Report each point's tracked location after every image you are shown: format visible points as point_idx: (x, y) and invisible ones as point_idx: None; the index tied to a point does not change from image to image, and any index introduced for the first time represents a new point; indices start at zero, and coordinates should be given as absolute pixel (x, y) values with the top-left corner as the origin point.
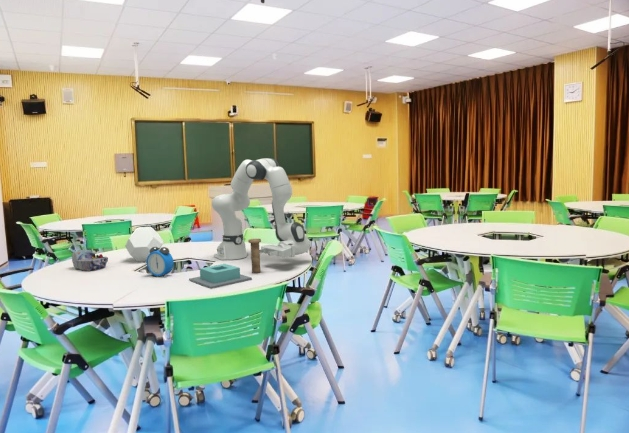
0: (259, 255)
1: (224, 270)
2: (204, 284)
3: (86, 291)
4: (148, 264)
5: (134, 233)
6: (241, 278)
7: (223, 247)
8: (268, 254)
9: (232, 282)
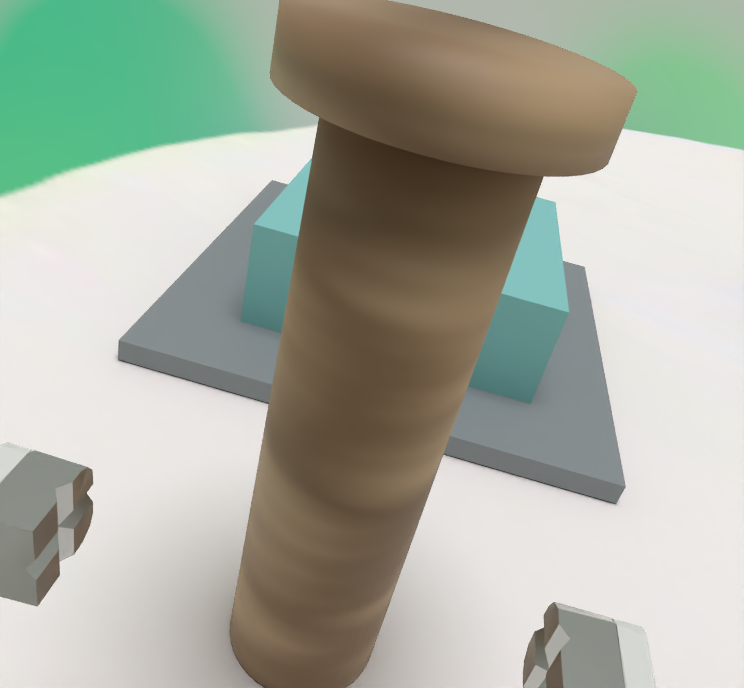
0: (277, 412)
1: None
2: None
3: (707, 170)
4: None
5: None
6: (210, 308)
7: None
8: (88, 503)
9: (211, 247)
